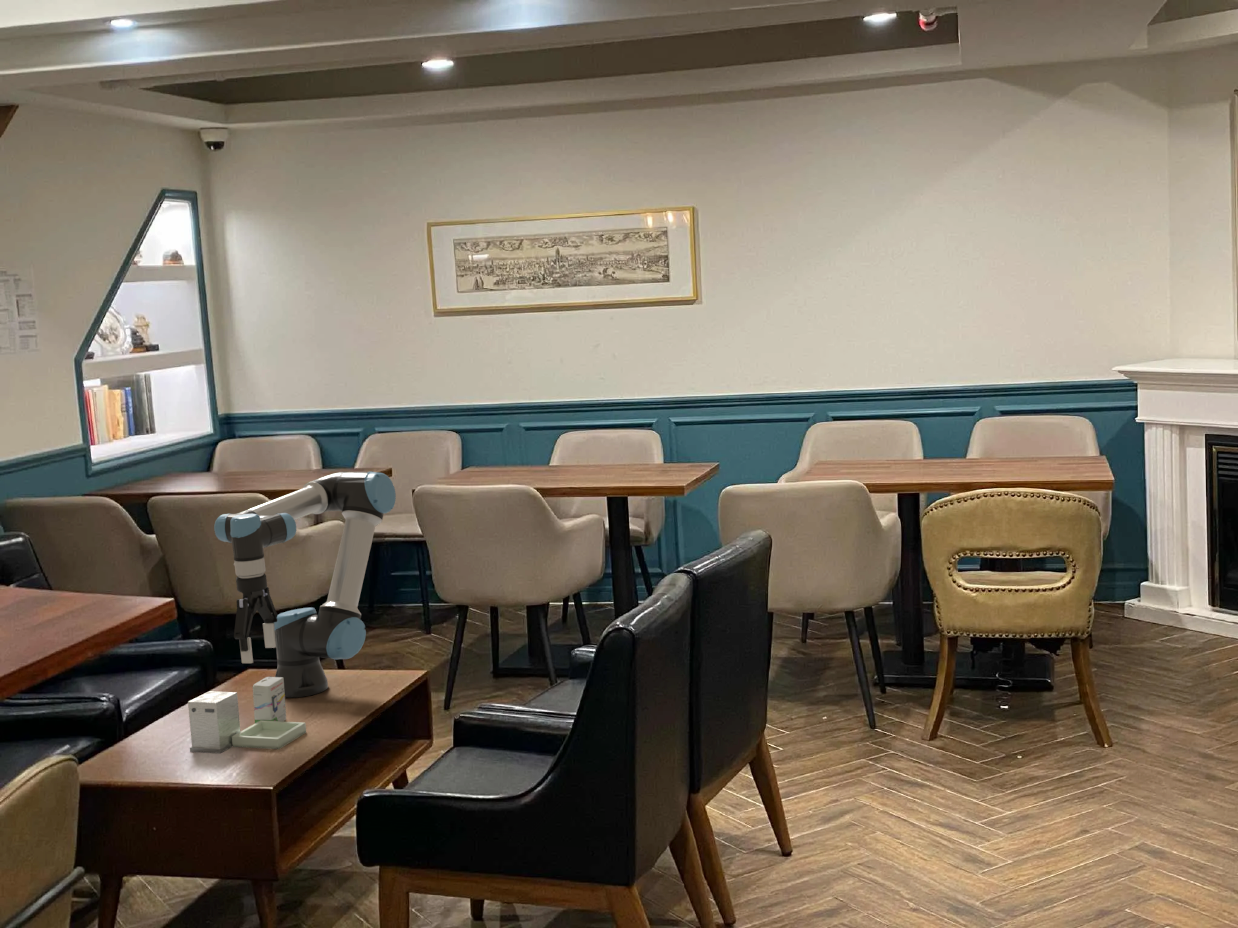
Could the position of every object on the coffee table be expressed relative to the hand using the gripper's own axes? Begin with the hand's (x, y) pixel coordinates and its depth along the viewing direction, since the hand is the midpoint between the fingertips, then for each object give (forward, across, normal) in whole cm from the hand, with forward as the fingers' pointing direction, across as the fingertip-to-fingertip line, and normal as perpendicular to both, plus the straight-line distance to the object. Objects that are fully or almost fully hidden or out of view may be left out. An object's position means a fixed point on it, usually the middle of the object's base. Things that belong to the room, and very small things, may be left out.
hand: (259, 655), depth 340 cm
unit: (+18, +17, -6) cm, 25 cm away
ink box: (+19, 0, +1) cm, 19 cm away
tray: (+18, +11, +6) cm, 23 cm away
